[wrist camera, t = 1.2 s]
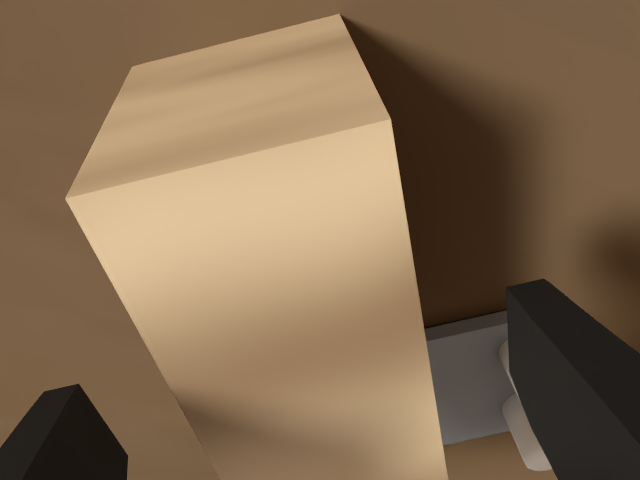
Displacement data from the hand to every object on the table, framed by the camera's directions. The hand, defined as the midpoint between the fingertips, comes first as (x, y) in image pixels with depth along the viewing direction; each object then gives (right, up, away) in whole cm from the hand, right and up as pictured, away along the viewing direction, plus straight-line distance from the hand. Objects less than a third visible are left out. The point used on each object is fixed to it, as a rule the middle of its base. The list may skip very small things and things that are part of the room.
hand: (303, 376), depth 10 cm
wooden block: (-1, +3, +5) cm, 6 cm away
